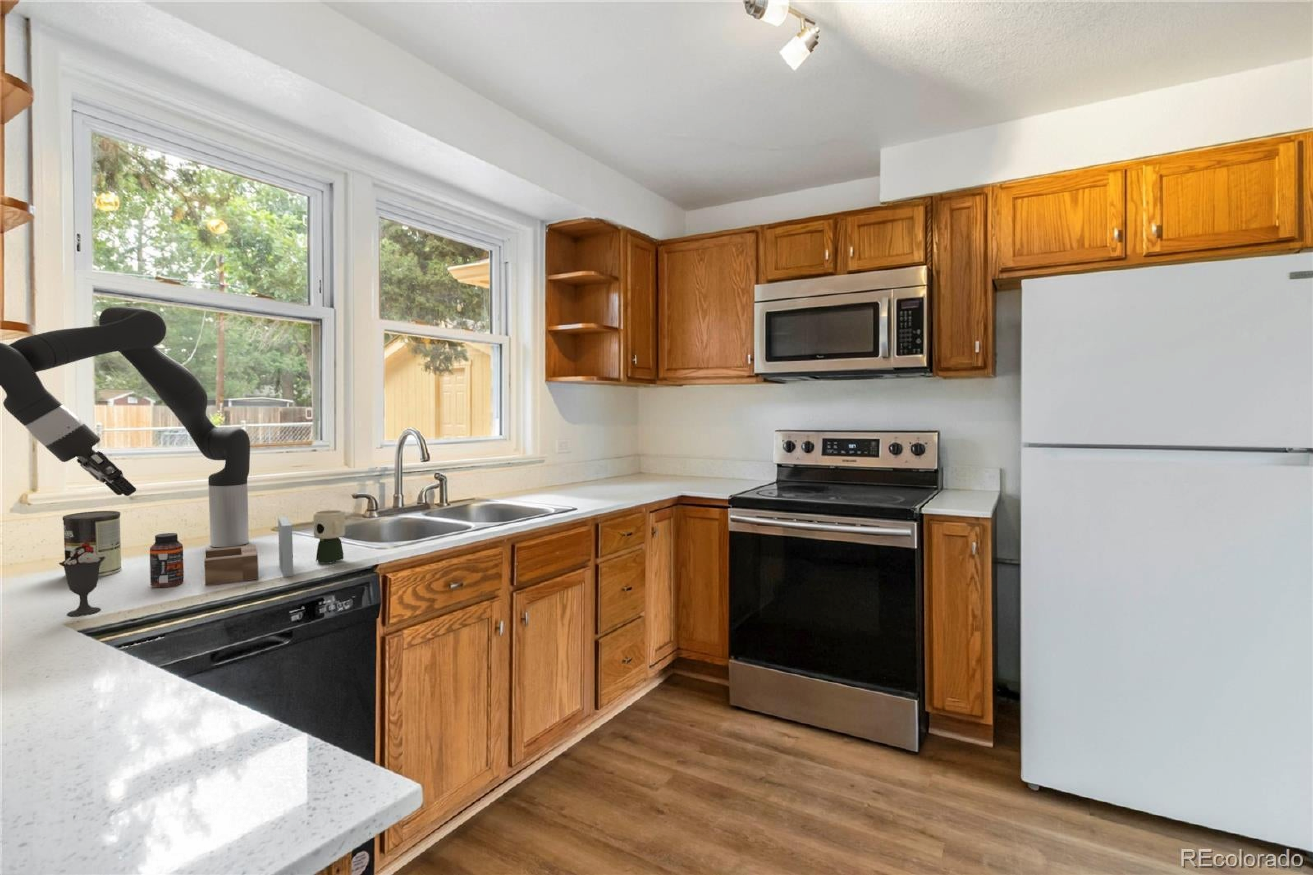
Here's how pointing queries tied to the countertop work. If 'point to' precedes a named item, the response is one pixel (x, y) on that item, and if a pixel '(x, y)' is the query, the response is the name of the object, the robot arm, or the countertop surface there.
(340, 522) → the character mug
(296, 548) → the countertop surface
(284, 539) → the board
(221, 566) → the walnut u-shaped holder
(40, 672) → the countertop surface
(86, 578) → the sundae
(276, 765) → the countertop surface
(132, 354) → the robot arm
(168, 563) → the supplement bottle
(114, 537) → the coffee can
